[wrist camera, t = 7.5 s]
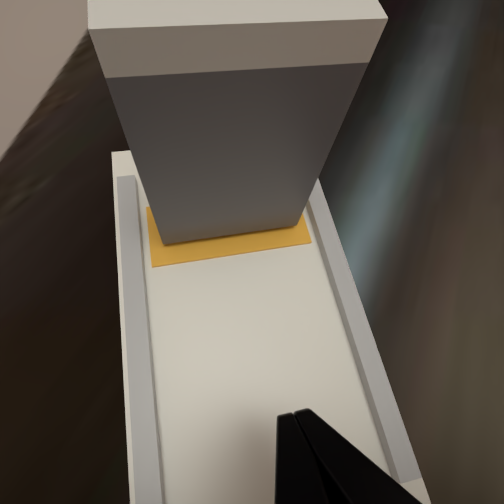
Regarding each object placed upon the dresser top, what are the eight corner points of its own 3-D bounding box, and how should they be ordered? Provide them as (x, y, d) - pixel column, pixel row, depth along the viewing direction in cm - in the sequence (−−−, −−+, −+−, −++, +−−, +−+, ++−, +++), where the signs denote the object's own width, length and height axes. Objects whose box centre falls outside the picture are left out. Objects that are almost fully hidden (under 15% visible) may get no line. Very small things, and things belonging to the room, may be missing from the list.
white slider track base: (475, 734, 11) (561, 845, 8) (171, 872, 9) (152, 1070, 7) (293, 163, 20) (305, 125, 18) (124, 182, 19) (108, 143, 16)
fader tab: (296, 225, 15) (388, 18, 7) (163, 244, 14) (88, 29, 6) (286, 189, 16) (357, -36, 8) (158, 204, 15) (87, -34, 7)
